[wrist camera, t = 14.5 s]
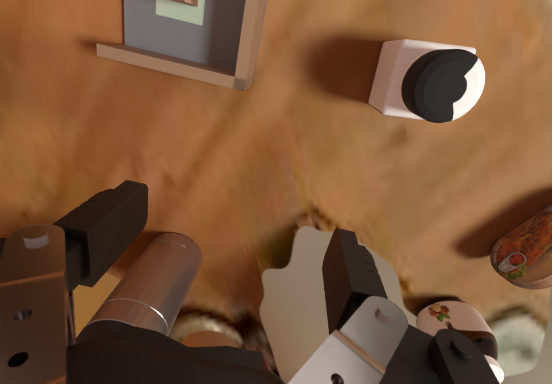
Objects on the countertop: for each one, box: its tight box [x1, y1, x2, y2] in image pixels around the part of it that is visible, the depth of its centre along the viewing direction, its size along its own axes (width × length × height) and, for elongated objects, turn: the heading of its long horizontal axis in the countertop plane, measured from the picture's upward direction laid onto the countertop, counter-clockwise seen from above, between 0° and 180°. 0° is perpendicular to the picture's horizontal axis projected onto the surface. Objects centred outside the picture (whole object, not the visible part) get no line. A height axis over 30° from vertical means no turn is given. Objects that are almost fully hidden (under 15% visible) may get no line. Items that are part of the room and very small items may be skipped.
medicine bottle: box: [368, 39, 485, 123], centre depth 29 cm, size 7×7×12 cm
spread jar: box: [417, 298, 504, 383], centre depth 46 cm, size 12×11×12 cm
